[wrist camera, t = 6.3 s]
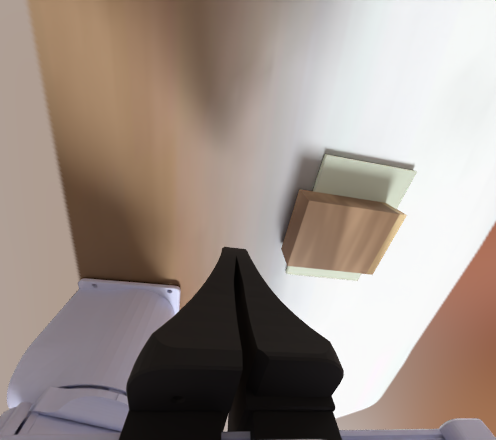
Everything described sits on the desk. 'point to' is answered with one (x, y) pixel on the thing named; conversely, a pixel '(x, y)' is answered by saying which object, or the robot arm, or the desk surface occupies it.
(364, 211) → the walnut slab
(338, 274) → the sage mat
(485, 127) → the desk surface
